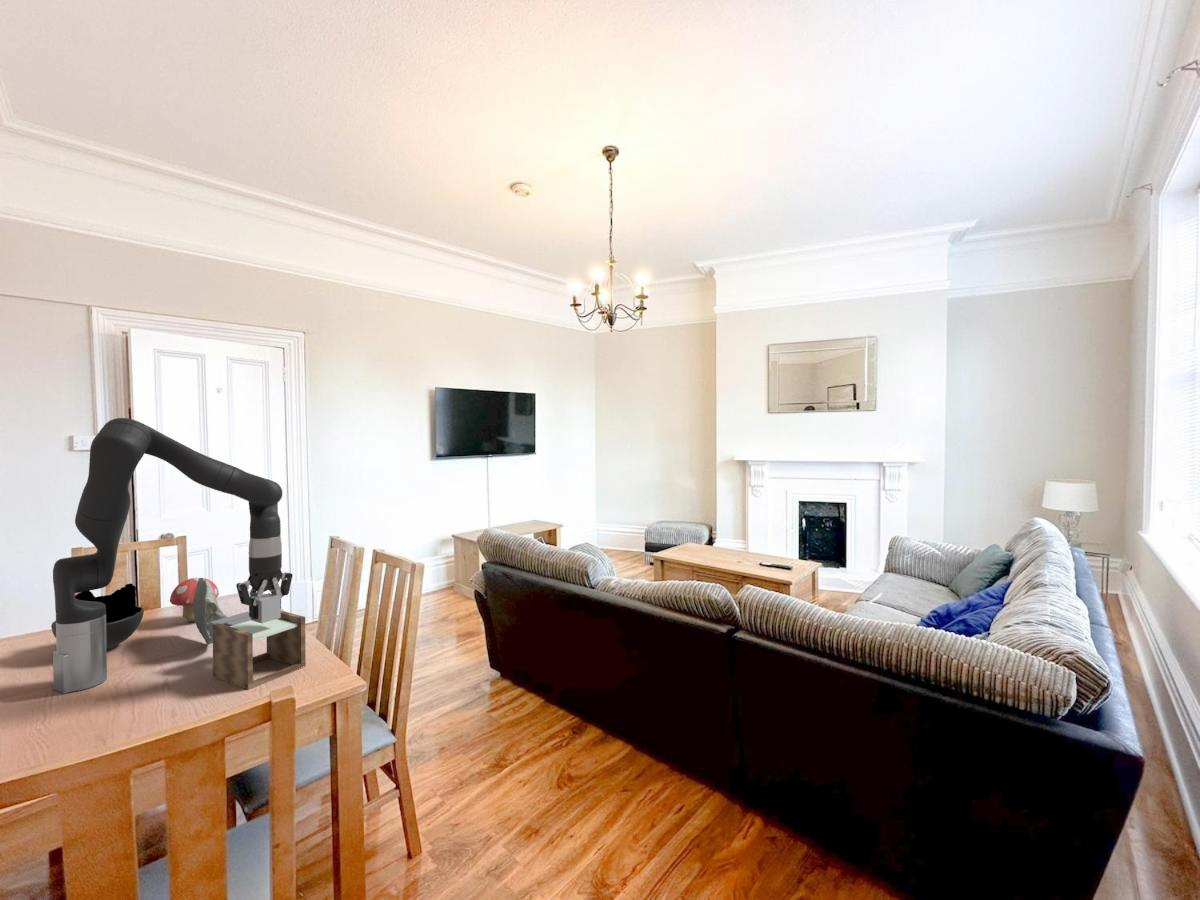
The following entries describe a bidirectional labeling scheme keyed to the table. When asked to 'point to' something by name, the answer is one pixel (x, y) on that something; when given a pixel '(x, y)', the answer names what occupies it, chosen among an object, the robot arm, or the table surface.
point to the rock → (205, 608)
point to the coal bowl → (116, 613)
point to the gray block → (268, 608)
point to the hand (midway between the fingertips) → (265, 615)
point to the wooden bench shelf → (238, 659)
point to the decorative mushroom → (188, 596)
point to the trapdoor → (253, 625)
